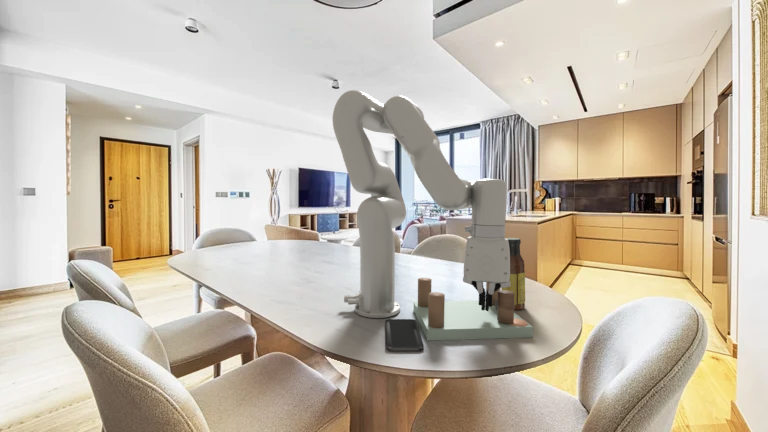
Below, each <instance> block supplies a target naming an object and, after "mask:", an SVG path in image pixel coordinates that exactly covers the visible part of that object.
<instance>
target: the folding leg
mask: <svg viewBox="0 0 768 432" xmlns="http://www.w3.org/2000/svg"><path fill="white" fill-rule="evenodd" d="M514 295H515V293H514V292H511V291H506V290H502V289H500V291H498V300H496V301H495V308H496V309H497V320H498V321H499V322H501V323H506V324H511V323H513V322H514V313H515V310H514Z"/></svg>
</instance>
